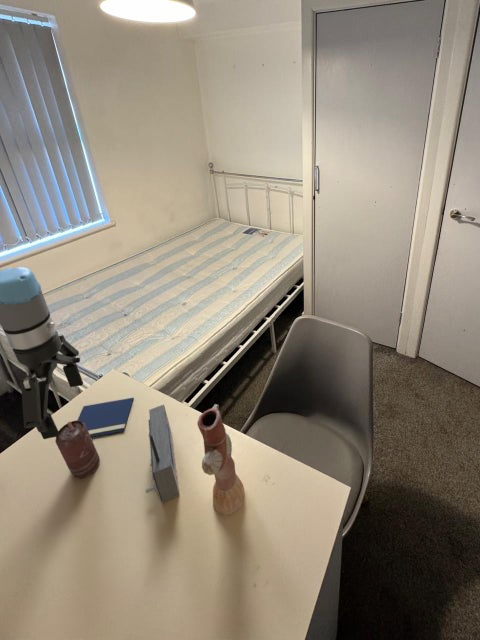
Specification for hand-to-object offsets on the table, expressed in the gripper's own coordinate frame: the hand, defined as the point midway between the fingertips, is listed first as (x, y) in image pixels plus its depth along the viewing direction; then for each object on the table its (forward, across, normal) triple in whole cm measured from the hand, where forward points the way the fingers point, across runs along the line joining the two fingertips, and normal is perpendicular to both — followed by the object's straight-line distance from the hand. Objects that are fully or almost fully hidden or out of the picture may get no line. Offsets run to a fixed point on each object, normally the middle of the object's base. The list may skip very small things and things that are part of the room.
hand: (65, 408), depth 75 cm
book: (+19, +11, 0) cm, 22 cm away
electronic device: (+19, -6, -19) cm, 28 cm away
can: (+19, -2, 0) cm, 19 cm away
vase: (+19, -18, -36) cm, 44 cm away
